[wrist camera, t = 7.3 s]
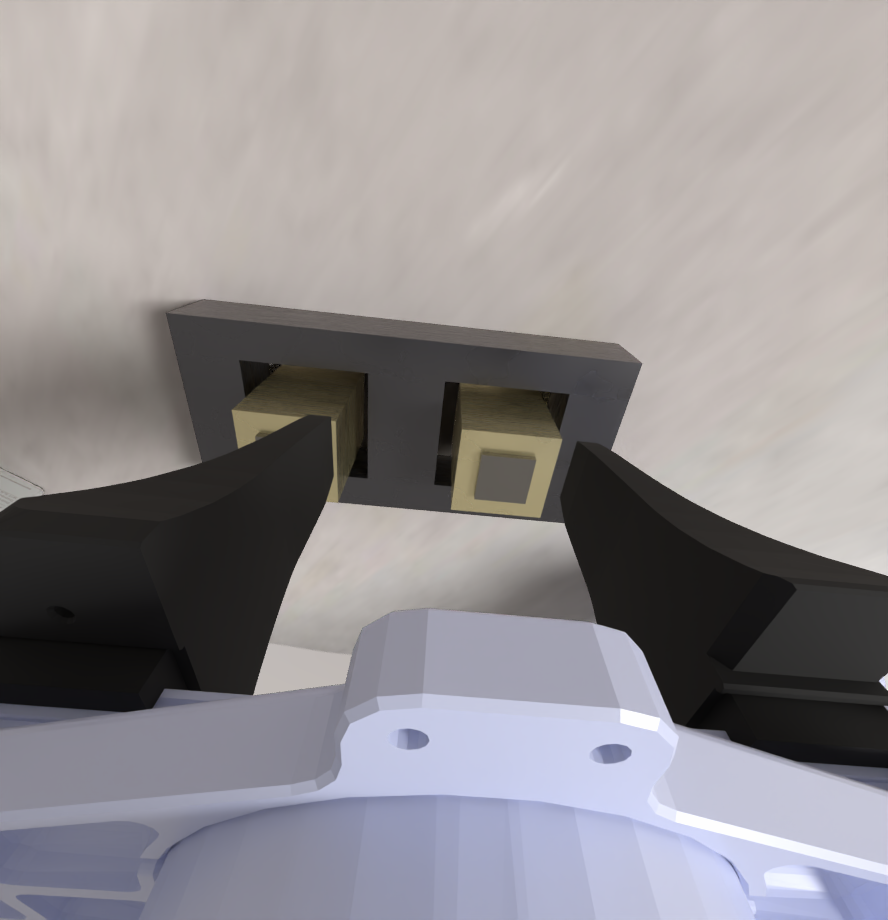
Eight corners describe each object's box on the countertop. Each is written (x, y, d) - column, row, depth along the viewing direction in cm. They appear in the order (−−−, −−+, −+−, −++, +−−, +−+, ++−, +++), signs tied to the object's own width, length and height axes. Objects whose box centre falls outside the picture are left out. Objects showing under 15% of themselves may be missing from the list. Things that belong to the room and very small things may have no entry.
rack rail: (618, 343, 20) (642, 363, 18) (570, 492, 25) (584, 524, 22) (204, 299, 19) (165, 312, 17) (235, 460, 24) (209, 490, 22)
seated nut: (536, 384, 21) (564, 442, 16) (521, 450, 23) (541, 522, 18) (460, 376, 21) (462, 432, 16) (451, 443, 23) (450, 513, 18)
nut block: (364, 370, 21) (334, 424, 16) (363, 437, 23) (336, 506, 18) (285, 361, 21) (228, 413, 16) (292, 430, 23) (243, 497, 18)
